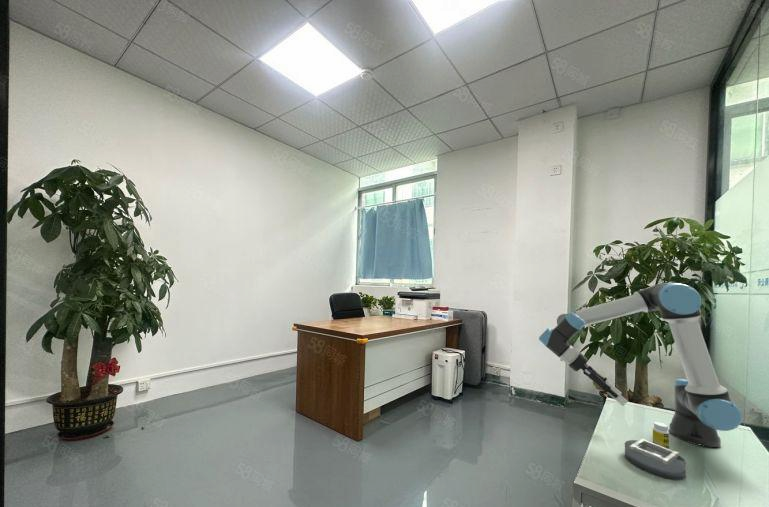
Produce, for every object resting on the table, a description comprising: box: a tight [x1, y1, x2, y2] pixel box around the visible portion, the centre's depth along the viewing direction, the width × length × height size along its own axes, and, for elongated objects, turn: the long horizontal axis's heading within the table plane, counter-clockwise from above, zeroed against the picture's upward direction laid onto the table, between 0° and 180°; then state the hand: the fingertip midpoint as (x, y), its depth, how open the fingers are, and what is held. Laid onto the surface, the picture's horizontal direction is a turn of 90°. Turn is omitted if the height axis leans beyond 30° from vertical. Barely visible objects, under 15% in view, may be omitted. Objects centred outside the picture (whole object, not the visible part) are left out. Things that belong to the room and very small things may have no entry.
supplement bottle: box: [652, 421, 670, 449], centre depth 120 cm, size 5×5×8 cm
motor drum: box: [624, 438, 687, 481], centre depth 107 cm, size 16×16×5 cm
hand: (622, 399), depth 125 cm, fingers open, 13 cm apart
